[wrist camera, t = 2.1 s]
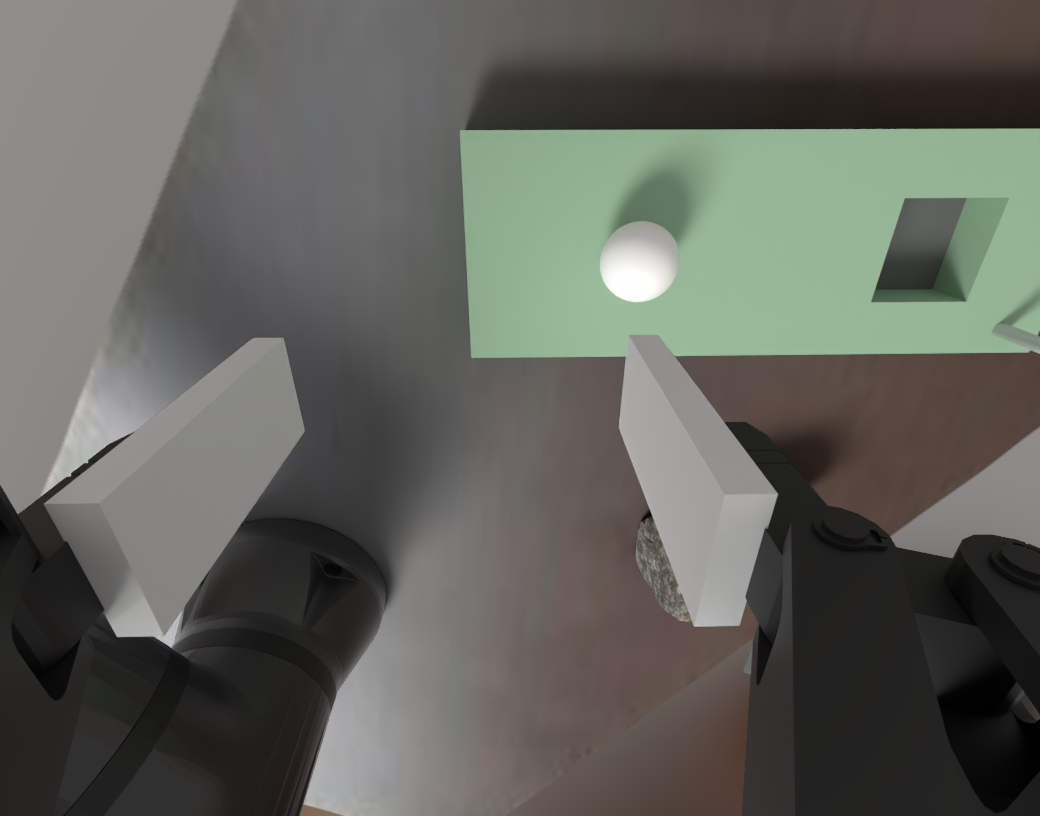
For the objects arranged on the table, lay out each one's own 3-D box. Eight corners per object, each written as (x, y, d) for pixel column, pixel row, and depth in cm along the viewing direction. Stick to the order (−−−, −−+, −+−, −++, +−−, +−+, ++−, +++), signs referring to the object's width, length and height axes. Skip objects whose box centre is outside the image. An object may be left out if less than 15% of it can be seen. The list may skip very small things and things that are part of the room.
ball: (591, 290, 29) (603, 312, 25) (596, 215, 27) (610, 228, 24) (662, 290, 29) (683, 311, 25) (672, 215, 27) (696, 227, 24)
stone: (712, 414, 41) (834, 465, 33) (737, 467, 45) (852, 524, 37) (594, 540, 39) (692, 628, 31) (632, 583, 43) (728, 671, 35)
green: (474, 340, 33) (446, 507, 18) (464, 130, 28) (412, 125, 13) (988, 335, 34) (1369, 493, 19) (1081, 128, 28) (1729, 121, 13)
